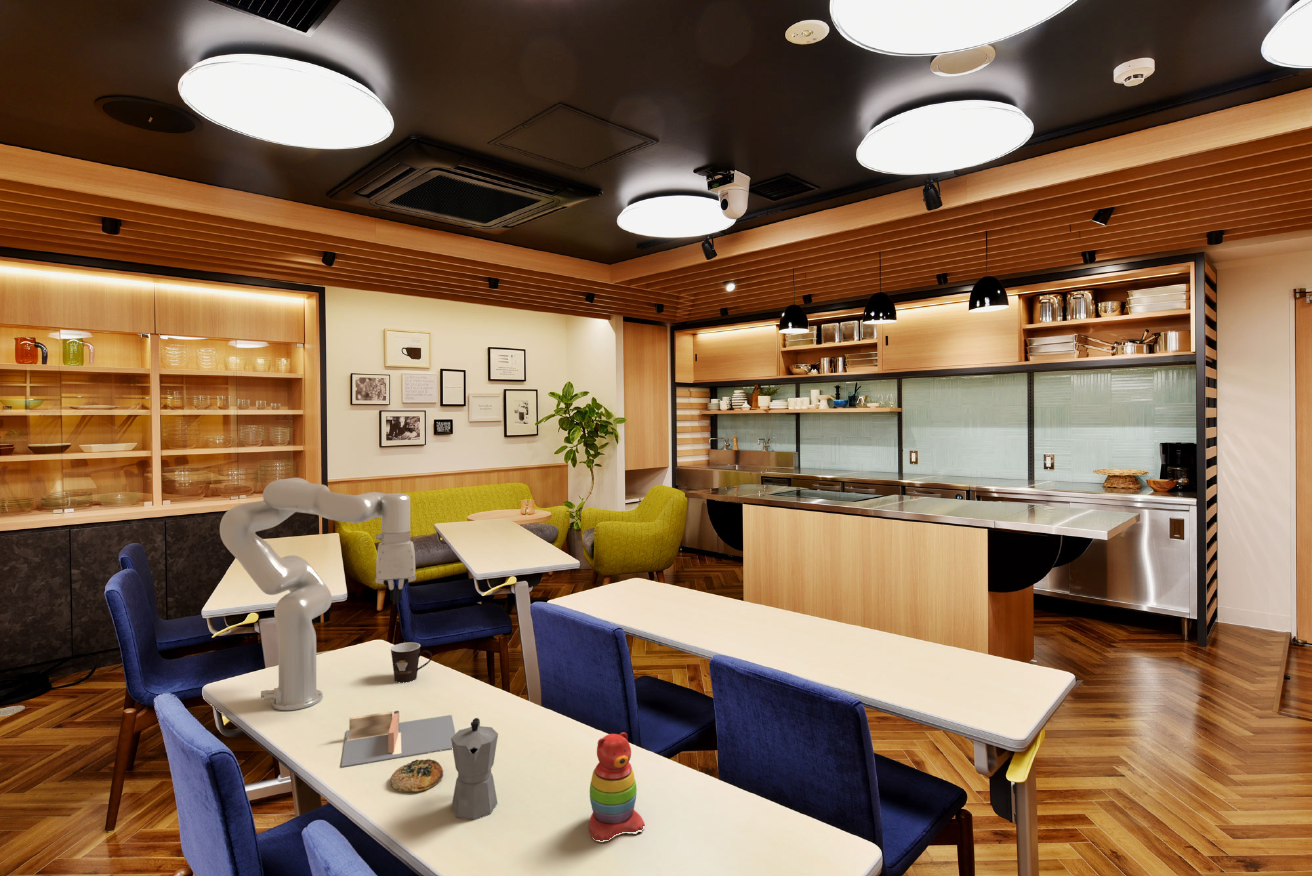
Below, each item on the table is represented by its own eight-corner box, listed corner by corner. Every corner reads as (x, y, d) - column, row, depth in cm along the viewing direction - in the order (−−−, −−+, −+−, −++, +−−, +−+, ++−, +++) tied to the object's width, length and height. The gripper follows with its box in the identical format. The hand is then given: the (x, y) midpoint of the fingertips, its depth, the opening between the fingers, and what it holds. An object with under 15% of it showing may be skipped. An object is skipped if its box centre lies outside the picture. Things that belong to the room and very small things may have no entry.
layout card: (341, 767, 153) (341, 766, 153) (346, 731, 170) (346, 730, 170) (458, 748, 162) (458, 746, 162) (451, 716, 180) (451, 714, 180)
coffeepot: (497, 823, 132) (497, 734, 132) (448, 829, 130) (448, 738, 130) (498, 782, 147) (498, 702, 147) (454, 787, 145) (454, 705, 145)
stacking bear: (595, 845, 125) (596, 753, 125) (580, 816, 135) (580, 730, 134) (648, 832, 130) (649, 742, 129) (629, 804, 139) (630, 721, 139)
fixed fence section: (349, 739, 166) (349, 719, 165) (349, 737, 167) (349, 717, 167) (399, 732, 170) (399, 712, 170) (399, 730, 171) (399, 710, 171)
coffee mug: (384, 681, 203) (384, 649, 203) (404, 672, 211) (404, 641, 211) (414, 687, 199) (414, 654, 199) (434, 677, 207) (434, 645, 207)
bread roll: (444, 764, 155) (443, 744, 154) (442, 796, 144) (441, 775, 143) (393, 772, 152) (392, 752, 151) (388, 805, 141) (386, 784, 140)
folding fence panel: (393, 732, 169) (393, 713, 169) (398, 731, 169) (398, 713, 169) (388, 753, 159) (388, 733, 158) (393, 752, 159) (393, 732, 159)
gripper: (366, 541, 180) (366, 608, 180) (424, 538, 185) (424, 603, 186) (367, 537, 187) (367, 601, 187) (423, 534, 192) (423, 596, 193)
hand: (396, 602), depth 186 cm, fingers closed
